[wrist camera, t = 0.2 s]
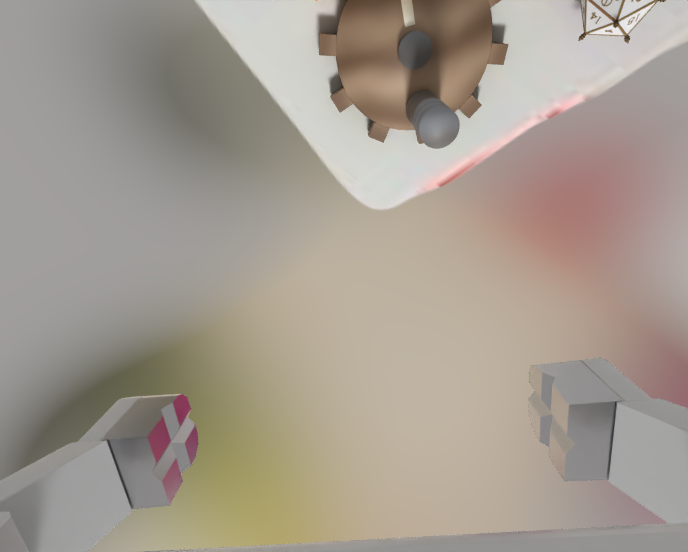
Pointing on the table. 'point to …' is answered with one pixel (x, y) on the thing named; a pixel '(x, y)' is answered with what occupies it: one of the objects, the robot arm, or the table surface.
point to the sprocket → (413, 63)
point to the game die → (613, 16)
